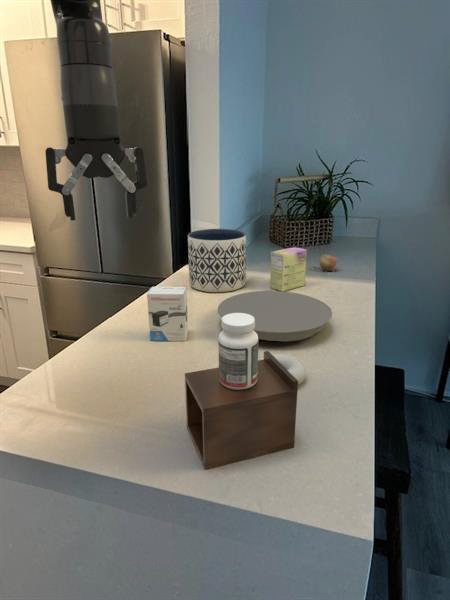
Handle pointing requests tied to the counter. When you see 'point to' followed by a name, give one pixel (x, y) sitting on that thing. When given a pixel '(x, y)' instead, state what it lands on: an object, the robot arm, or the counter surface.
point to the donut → (292, 366)
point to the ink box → (167, 313)
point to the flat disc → (280, 314)
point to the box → (288, 268)
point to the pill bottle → (238, 351)
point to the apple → (328, 262)
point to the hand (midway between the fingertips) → (102, 218)
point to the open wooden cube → (241, 414)
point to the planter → (217, 260)
